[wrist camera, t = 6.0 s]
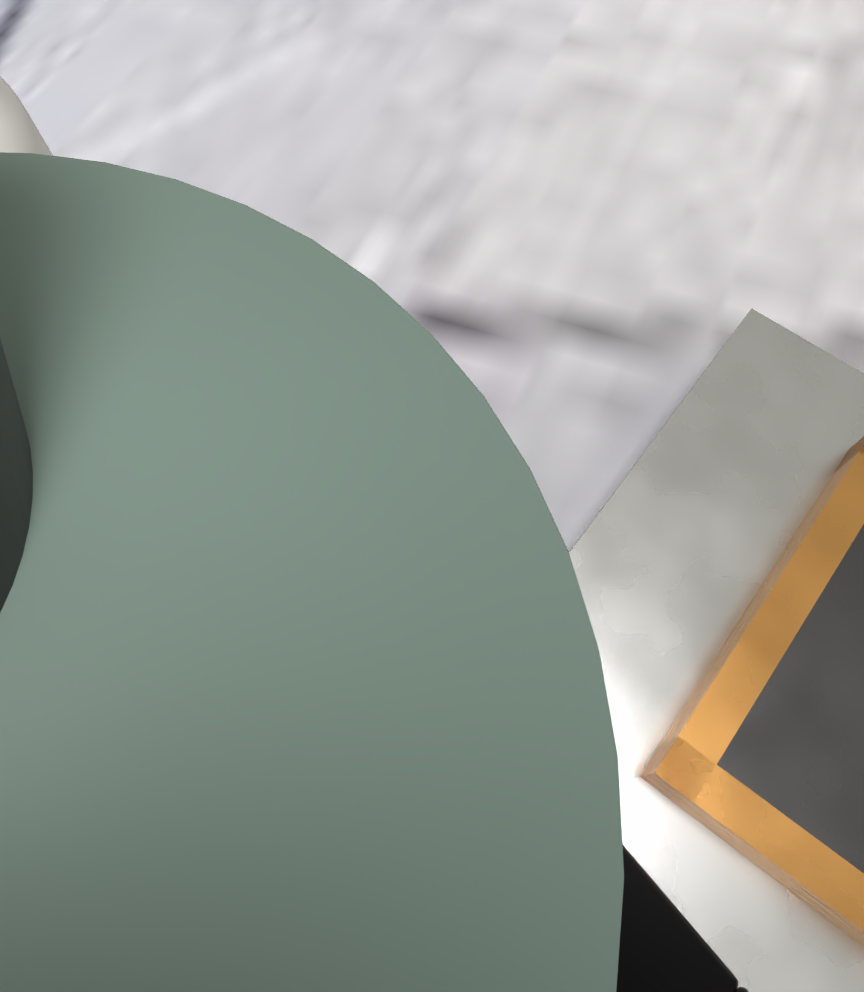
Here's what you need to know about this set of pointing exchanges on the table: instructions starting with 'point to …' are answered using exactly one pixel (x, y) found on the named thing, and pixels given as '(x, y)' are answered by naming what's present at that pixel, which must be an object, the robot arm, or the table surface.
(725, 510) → the grey flat block
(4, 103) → the eye dropper bottle
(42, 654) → the spout can
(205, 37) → the table surface
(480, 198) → the table surface
